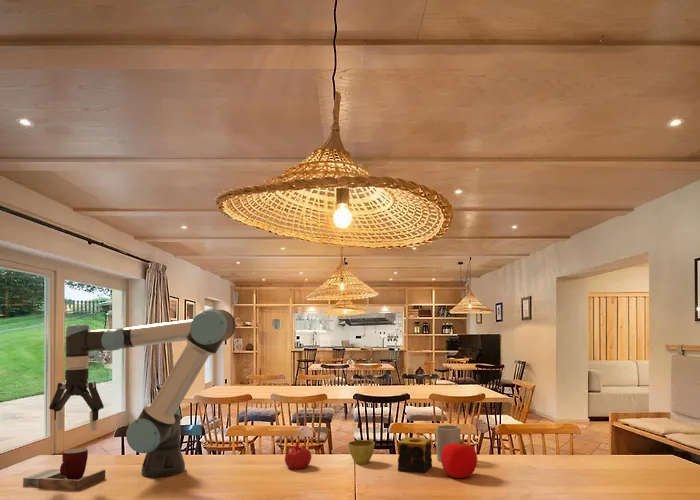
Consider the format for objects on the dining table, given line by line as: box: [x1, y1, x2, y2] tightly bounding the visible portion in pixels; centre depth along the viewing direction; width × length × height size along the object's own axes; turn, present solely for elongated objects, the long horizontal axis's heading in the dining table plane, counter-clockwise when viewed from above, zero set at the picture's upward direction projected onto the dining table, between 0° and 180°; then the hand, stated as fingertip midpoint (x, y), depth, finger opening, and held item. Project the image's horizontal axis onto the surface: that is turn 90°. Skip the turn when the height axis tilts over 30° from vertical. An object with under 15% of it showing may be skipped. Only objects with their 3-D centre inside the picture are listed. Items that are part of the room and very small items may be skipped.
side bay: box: [22, 468, 106, 491], centre depth 206 cm, size 23×14×3 cm, turn 76°
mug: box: [59, 447, 89, 480], centre depth 206 cm, size 11×8×10 cm
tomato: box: [441, 440, 478, 479], centre depth 203 cm, size 12×14×11 cm
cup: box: [435, 424, 462, 463], centre depth 226 cm, size 9×9×12 cm
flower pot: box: [347, 439, 376, 465], centre depth 224 cm, size 10×10×7 cm
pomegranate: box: [284, 441, 313, 470], centre depth 220 cm, size 10×10×9 cm
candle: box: [397, 436, 433, 474], centre depth 214 cm, size 10×10×10 cm
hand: (76, 430), depth 207 cm, fingers open, 13 cm apart
